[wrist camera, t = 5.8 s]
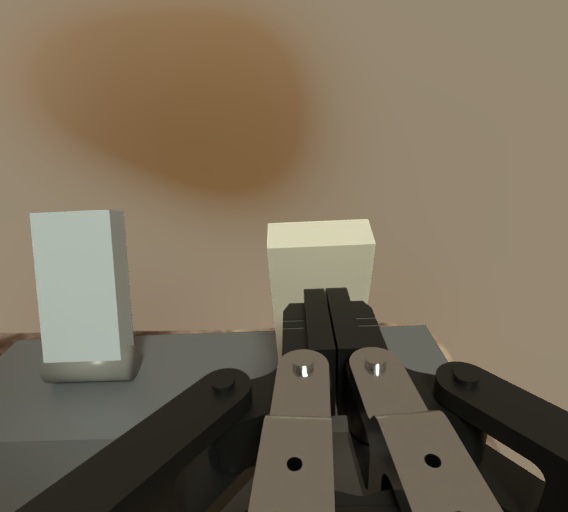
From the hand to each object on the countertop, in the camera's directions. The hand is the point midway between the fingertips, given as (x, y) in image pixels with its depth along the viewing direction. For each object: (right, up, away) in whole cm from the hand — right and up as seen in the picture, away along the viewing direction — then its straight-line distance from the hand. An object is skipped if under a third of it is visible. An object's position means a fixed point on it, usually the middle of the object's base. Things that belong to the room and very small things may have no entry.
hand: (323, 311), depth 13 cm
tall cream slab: (0, -3, +6) cm, 7 cm away
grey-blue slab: (-12, -4, +7) cm, 14 cm away
